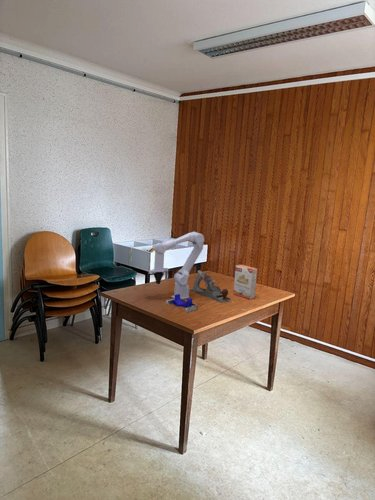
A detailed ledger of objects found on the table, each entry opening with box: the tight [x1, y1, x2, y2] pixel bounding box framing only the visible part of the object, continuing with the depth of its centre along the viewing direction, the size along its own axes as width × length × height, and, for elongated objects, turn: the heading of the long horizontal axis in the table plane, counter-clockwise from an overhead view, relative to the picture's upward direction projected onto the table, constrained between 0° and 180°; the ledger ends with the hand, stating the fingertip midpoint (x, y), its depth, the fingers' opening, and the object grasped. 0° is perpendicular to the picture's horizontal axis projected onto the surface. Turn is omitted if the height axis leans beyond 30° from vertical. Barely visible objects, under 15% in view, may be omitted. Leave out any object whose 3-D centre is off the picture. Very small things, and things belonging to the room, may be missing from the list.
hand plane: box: [189, 270, 232, 303], centre depth 247 cm, size 9×33×15 cm, turn 41°
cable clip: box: [172, 294, 193, 309], centre depth 222 cm, size 12×4×6 cm, turn 46°
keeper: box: [165, 298, 199, 313], centre depth 220 cm, size 9×18×3 cm, turn 46°
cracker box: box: [233, 264, 258, 300], centre depth 249 cm, size 14×6×21 cm, turn 45°
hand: (157, 283), depth 231 cm, fingers closed
